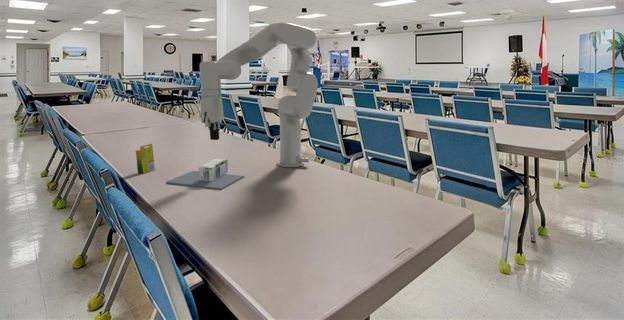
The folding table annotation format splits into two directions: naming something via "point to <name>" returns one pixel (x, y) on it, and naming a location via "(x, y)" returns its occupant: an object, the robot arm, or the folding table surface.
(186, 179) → the mat
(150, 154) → the crayon box
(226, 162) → the syrup box
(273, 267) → the folding table surface
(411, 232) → the folding table surface
